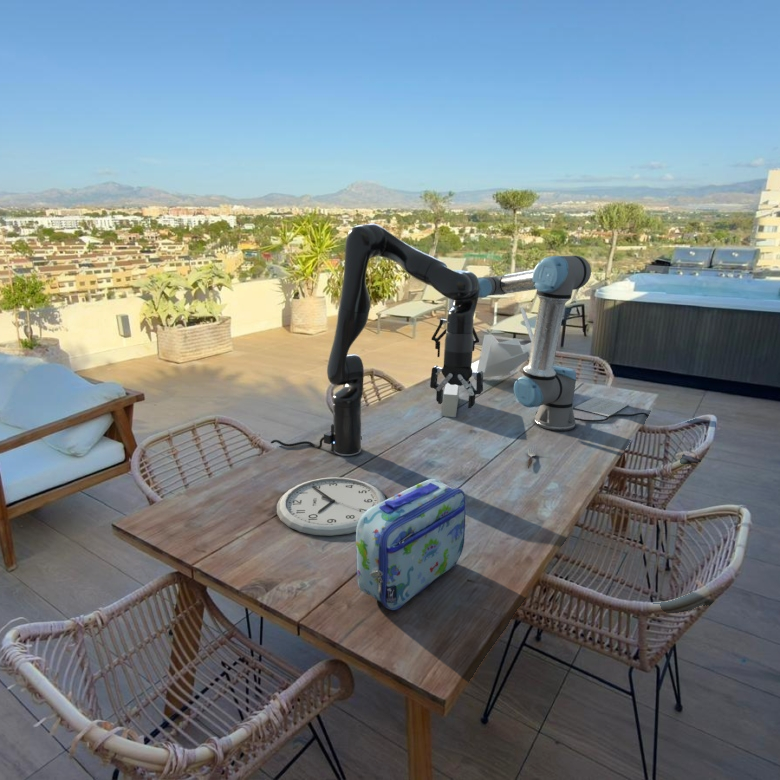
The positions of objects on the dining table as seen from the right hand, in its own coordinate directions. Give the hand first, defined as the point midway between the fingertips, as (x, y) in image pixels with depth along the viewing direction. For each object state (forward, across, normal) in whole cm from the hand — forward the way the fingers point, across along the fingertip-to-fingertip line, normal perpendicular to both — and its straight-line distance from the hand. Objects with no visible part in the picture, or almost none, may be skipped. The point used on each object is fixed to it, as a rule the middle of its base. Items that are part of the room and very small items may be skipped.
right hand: (454, 357), depth 226 cm
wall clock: (+20, -27, -99) cm, 104 cm away
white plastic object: (+20, +26, +29) cm, 44 cm away
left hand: (-6, +4, -83) cm, 83 cm away
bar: (+20, 0, -9) cm, 21 cm away
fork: (+20, +29, -58) cm, 68 cm away
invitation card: (+20, +64, +5) cm, 67 cm away
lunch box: (+20, -2, -126) cm, 128 cm away
